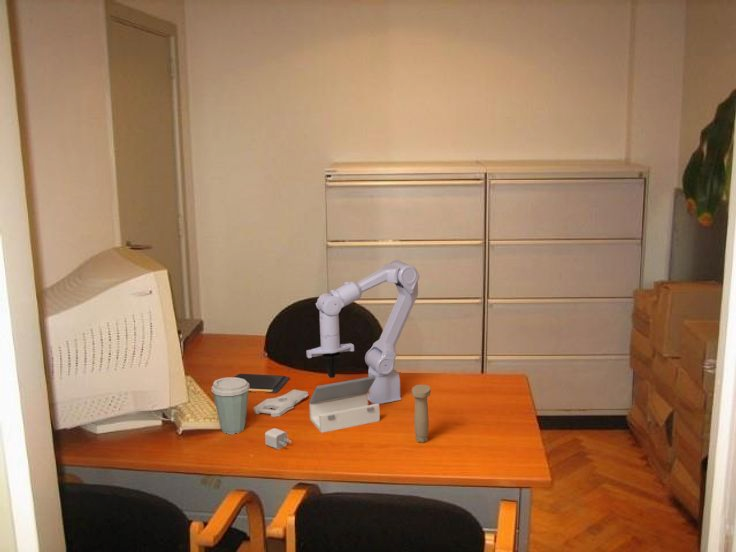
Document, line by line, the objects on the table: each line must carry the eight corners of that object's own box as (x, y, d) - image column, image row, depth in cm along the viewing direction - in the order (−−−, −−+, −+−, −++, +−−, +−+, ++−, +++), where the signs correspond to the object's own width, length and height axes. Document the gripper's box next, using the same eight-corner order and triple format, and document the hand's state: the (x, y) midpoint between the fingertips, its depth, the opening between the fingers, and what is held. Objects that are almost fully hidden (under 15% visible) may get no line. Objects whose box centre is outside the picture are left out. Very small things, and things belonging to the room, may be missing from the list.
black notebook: (291, 374, 245) (276, 390, 231) (291, 379, 246) (276, 396, 231) (237, 371, 250) (218, 387, 235) (237, 376, 250) (219, 392, 236)
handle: (410, 444, 193) (409, 392, 190) (415, 434, 199) (415, 384, 196) (427, 446, 192) (427, 394, 188) (432, 436, 197) (432, 385, 194)
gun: (285, 383, 231) (310, 389, 226) (285, 393, 232) (311, 399, 227) (249, 406, 216) (275, 413, 211) (250, 417, 216) (276, 423, 212)
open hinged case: (366, 408, 218) (365, 393, 217) (380, 421, 208) (380, 405, 207) (310, 419, 211) (309, 403, 210) (322, 433, 201) (321, 417, 200)
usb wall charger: (276, 440, 198) (275, 427, 197) (294, 447, 194) (293, 433, 193) (265, 446, 195) (264, 432, 194) (283, 452, 191) (282, 439, 190)
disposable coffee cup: (238, 419, 213) (235, 371, 209) (260, 429, 205) (257, 380, 202) (207, 430, 205) (203, 381, 202) (228, 441, 198) (225, 390, 195)
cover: (366, 394, 216) (365, 391, 216) (375, 378, 208) (374, 375, 208) (309, 404, 209) (309, 401, 210) (317, 389, 201) (316, 385, 201)
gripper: (347, 326, 220) (348, 368, 223) (302, 333, 214) (304, 376, 217) (356, 332, 214) (357, 375, 216) (309, 339, 208) (312, 383, 211)
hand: (331, 376), depth 216 cm, fingers closed
